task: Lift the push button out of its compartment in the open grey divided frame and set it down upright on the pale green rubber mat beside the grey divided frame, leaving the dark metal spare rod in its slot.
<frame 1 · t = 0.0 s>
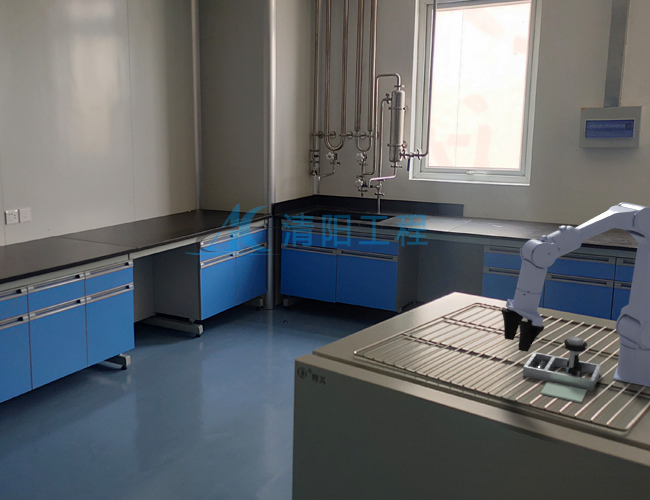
hand: (515, 344, 145), 11 cm above the worktop, tool pointing down, fingers open, 7 cm apart
spare rod: (539, 371, 156), resting in grey divided frame, tilted 5°
push button: (571, 377, 152), on the worktop
grey divided frame: (561, 375, 153), on the worktop
mat: (563, 392, 143), on the worktop
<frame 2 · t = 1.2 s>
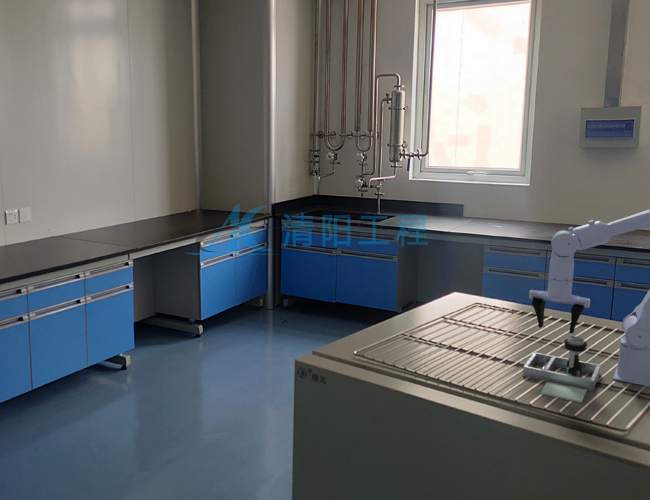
hand: (556, 329, 156), 10 cm above the worktop, tool pointing down, fingers open, 7 cm apart
spare rod: (541, 367, 155), point 1 cm above the worktop, tilted 110°
everything else where it was.
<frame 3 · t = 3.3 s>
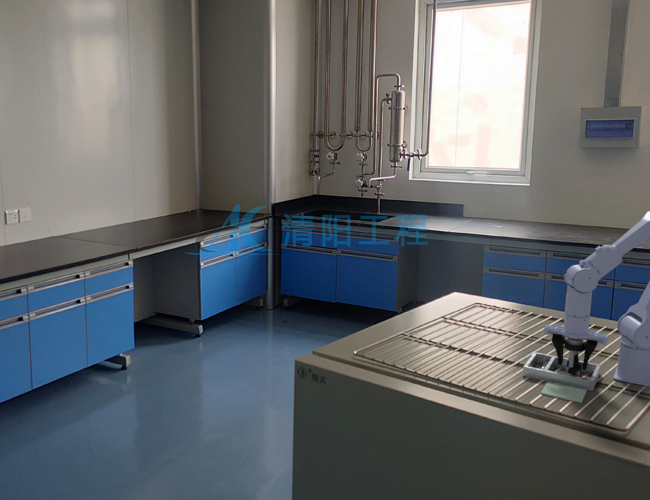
hand: (572, 365, 151), 3 cm above the worktop, tool pointing down, fingers closed on push button, 5 cm apart
spare rod: (540, 368, 155), point 1 cm above the worktop, tilted 98°
push button: (571, 377, 152), on the worktop, touching gripper
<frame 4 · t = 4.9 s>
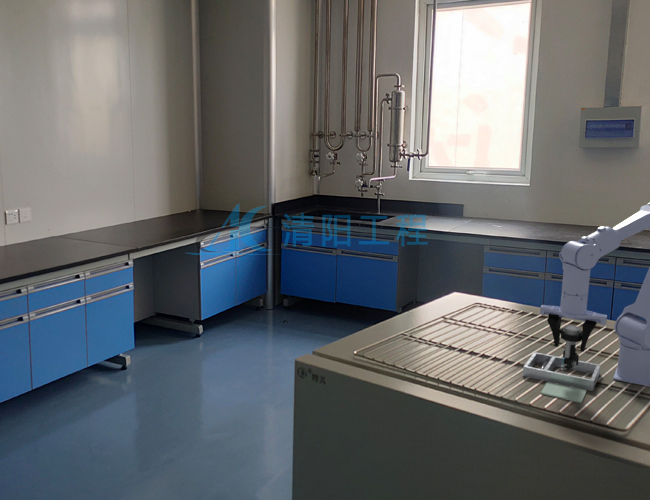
hand: (569, 347, 144), 10 cm above the worktop, tool pointing down, fingers closed on push button, 5 cm apart
spare rod: (540, 368, 155), point 1 cm above the worktop, tilted 104°
push button: (567, 368, 146), point 5 cm above the worktop, touching gripper
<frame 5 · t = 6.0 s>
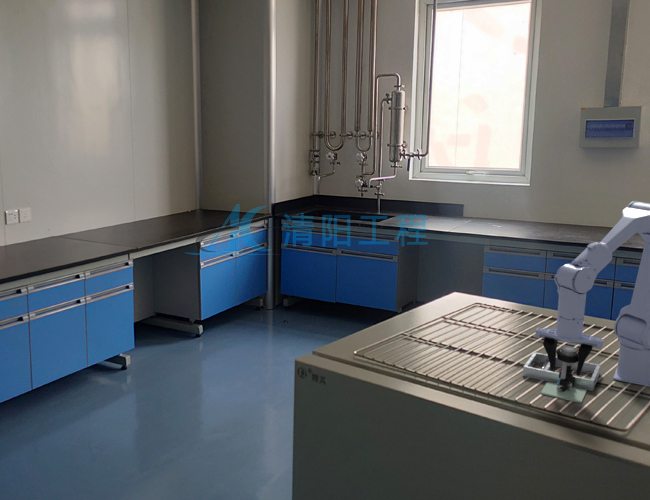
hand: (565, 371, 142), 5 cm above the worktop, tool pointing down, fingers closed on push button, 5 cm apart
spare rod: (541, 367, 155), point 1 cm above the worktop, tilted 121°
push button: (563, 389, 144), on the worktop, touching gripper, mat
when the fingers open (5 cm above the worktop, at t = 7.1 s): push button stays where it is, resting on mat.
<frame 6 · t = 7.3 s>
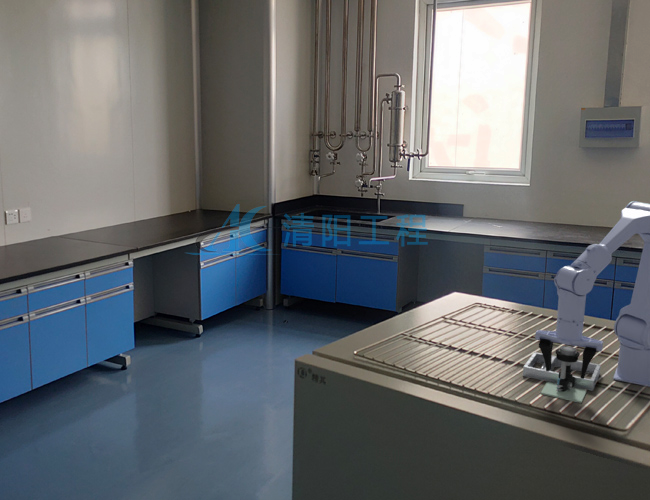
hand: (565, 373, 142), 5 cm above the worktop, tool pointing down, fingers open, 7 cm apart
spare rod: (540, 367, 156), point 1 cm above the worktop, tilted 106°
push button: (563, 389, 144), resting on mat
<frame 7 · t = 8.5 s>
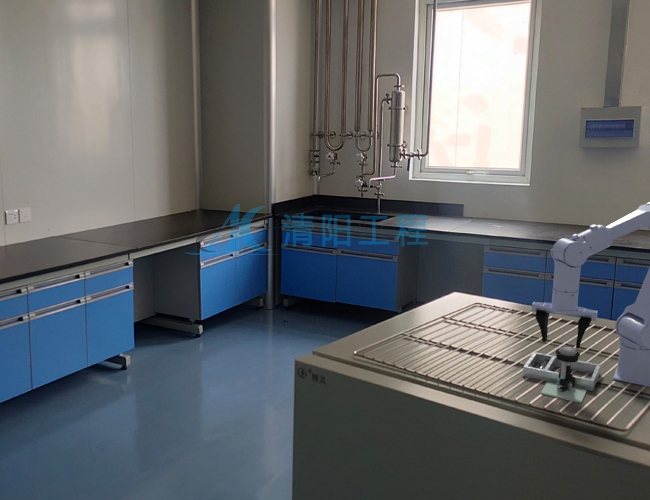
hand: (561, 343, 146), 10 cm above the worktop, tool pointing down, fingers open, 7 cm apart
spare rod: (538, 368, 156), resting in grey divided frame, tilted 88°
everything else where it was.
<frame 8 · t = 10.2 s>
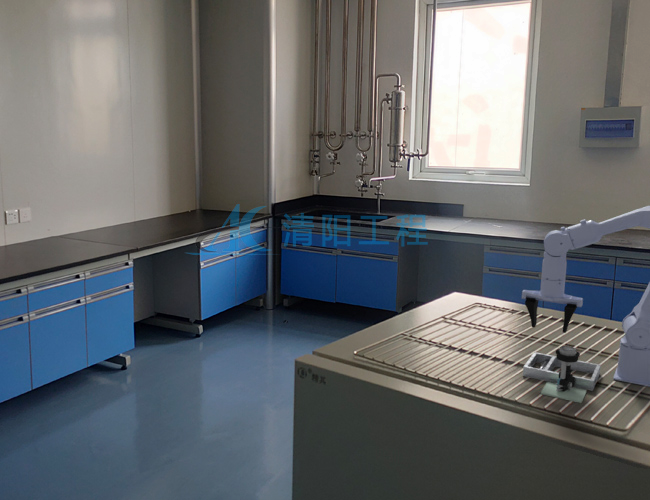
hand: (549, 328, 156), 10 cm above the worktop, tool pointing down, fingers open, 7 cm apart
spare rod: (539, 368, 156), point 1 cm above the worktop, tilted 100°
everything else where it was.
at the end: push button inside the target area on the mat (1.4 cm from its centre), point 0.2 cm above the mat's base; push button tilted 0°; the gripper is holding nothing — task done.
